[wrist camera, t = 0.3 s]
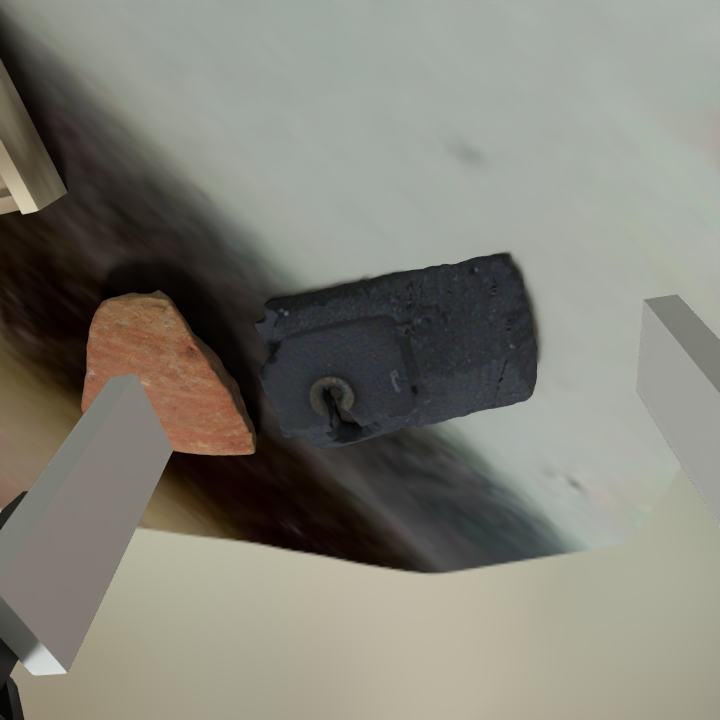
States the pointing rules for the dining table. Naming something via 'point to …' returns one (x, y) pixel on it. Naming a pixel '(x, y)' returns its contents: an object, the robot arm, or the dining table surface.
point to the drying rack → (23, 157)
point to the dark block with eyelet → (399, 351)
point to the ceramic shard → (168, 373)
